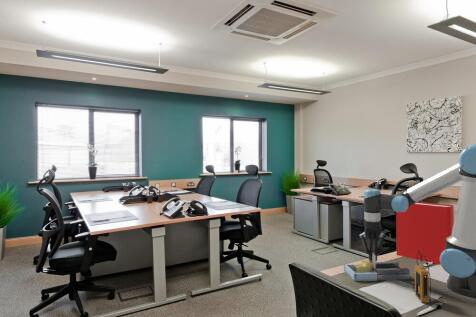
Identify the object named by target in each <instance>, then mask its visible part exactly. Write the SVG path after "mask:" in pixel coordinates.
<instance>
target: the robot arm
mask: <svg viewBox="0 0 476 317" xmlns="http://www.w3.org/2000/svg"><path fill="white" fill-rule="evenodd" d="M460 182H461V185H460V190H459V196H458V200H457V205H456V211H455V214H454V224H453V230H452V235H451V236H450V237H447V238H446V242H445V247H444V251H443V252H442V253H441V255H440V264H441V265H440V266H441V267H442V269H443V270H444V271H445V272H446V273H447V274H449V275H448V278H447V279H446V287H447V288H448V289H449V290H450V291H453V292H455V293H457V294H460V295H462V296H468V297H472V298H473V297H474V298H476V143H473V144H470V145H468V146H466V147H465V148H464V149H463V150H462V151H461V152H460V154H459V157H458V162H456V163H453V165H450V166H449V167H447V168H445V169H443V170H441V171H439V172H437V173H435V174H433V175H432V176H430V177H428V178H426V179H424V180H422V181H420V182H418V183H416V184H414V185H413V186H411V187H409V188H407V189H405V190H403V191H400V192H399V193H395V194H384V193H381V190H380V189H377V188H375V189H374V188H367V189H365V190H364V191H363V192H364V194H363V204H364V205H363V208H364V210H363V213H364V214H363V215H364V217H363V219H364V222H363V225H364V230H363V232H362V233H359V234H358V236H359V238H360V240H361V242H362V247H363V250H364V253H366V254H367V255H368V260H369V261H371V262H373V267H374V268H376V262H378V256H379V255H380V254H381V253H382V250H383V245H384V242H385V239H386V237H387V235H386V233H384V232H382V230H381V229H382V224H381V223H382V222H381V221H382V220H381V218H382V217H381V216H382V215H381V214H382V213H381V212H382V211H390V212H395V213H396V212H406V211H407V209H408V207H410V206H411V205H413V204H415V203H417V202H421V201H423V200H425V199H427V198H428V197H431V196H433V195H435V194H437V193H439V192H441V191H443V190H445V189H447V188H450V187H451V186H454V185H456V184H458V183H460ZM381 210H382V211H381ZM366 237H367V238H366ZM366 239H367V240H366Z"/></svg>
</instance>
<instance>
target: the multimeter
mask: <svg viewBox="0 0 476 317" xmlns="http://www.w3.org/2000/svg"><path fill="white" fill-rule="evenodd" d="M418 253H420V252H419V250H418ZM420 255H421V254H420ZM422 255H424V254H422ZM417 256H418V254H417ZM424 257H425V255H424ZM425 259H426V257H425ZM423 262H424V261H421V260H420V264H418V262H416V264H415V265H414V284H413V286H412V291H413V292H414V293H415V297H417V299H419V301H420V302H421V303H426V304H429V306H430V307H431V308H433V306H432V304H431V302H432V301H430V299H432V300H436V301H438V302H440V304H441V306H442V304H443V303H445V304H447V302H446V301H443V300H441V299H438V298H433V297H431V296H430V295H431V293H432V292H431V289H432V281H431V280H432V278H431V273H430V267H429V262H427V260H426V261H425V262H426V266H427V268H425V267H424V264H423ZM439 308H440V307H438V306H437V307H436V309H439Z"/></svg>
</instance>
